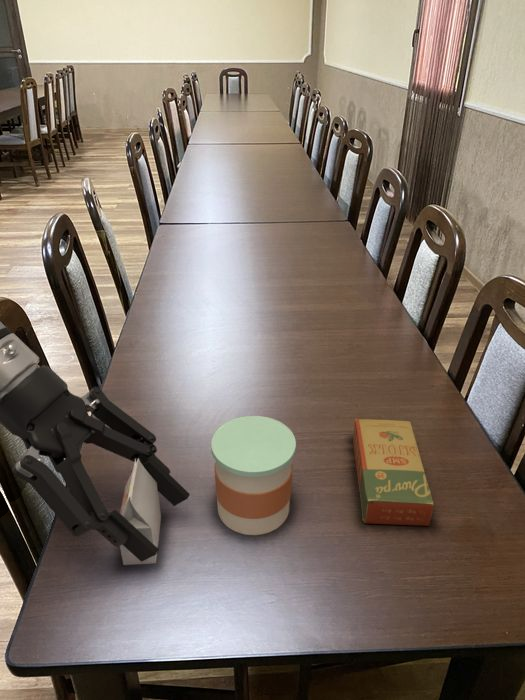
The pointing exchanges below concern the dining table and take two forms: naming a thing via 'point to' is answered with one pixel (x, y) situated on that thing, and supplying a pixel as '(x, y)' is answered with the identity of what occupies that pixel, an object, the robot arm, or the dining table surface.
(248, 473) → the coffee cup
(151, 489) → the paper tea packet
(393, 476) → the carton
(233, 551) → the dining table surface
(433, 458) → the dining table surface
